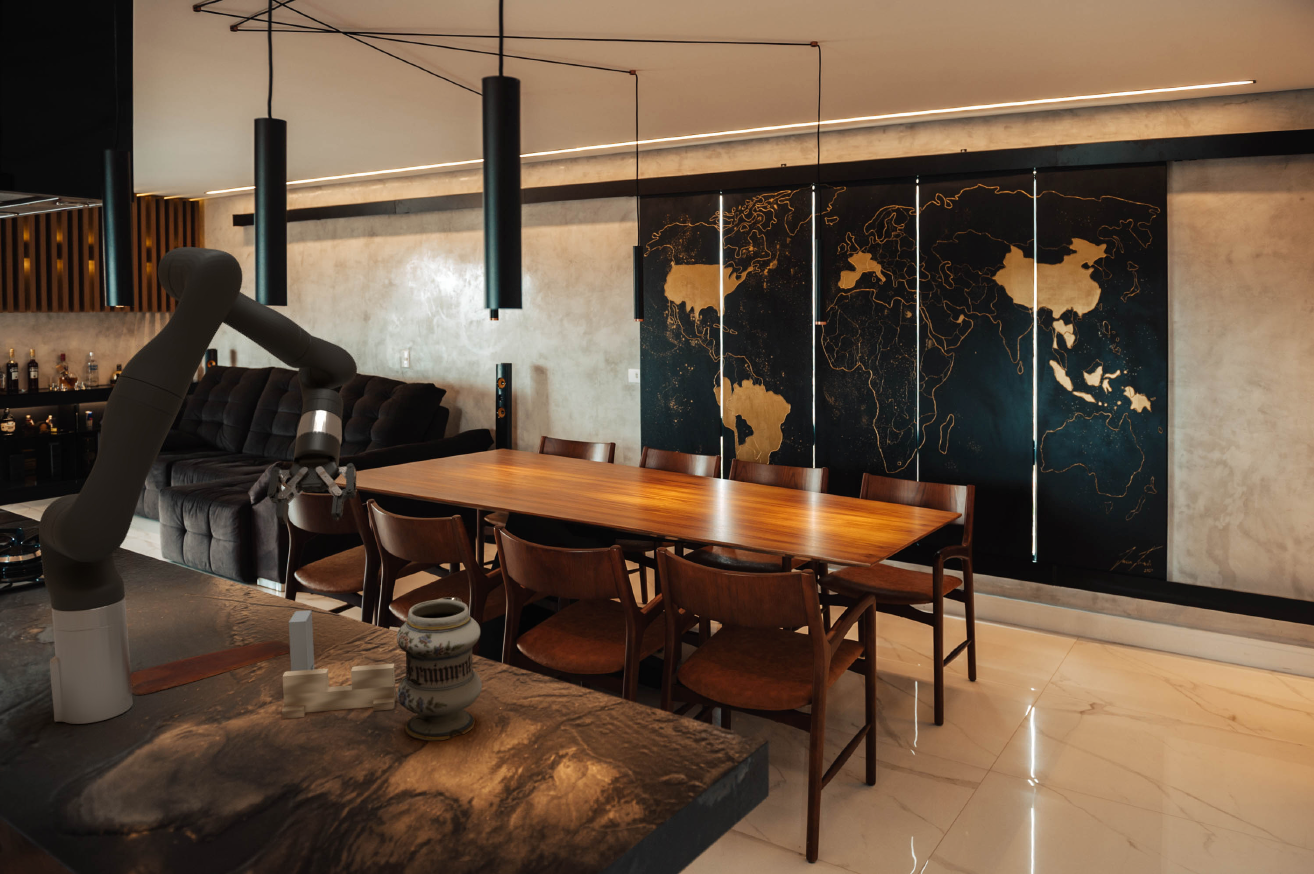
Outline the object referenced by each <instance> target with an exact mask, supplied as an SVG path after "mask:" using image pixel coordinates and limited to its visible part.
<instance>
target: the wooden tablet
mask: <svg viewBox="0 0 1314 874" xmlns="http://www.w3.org/2000/svg"><path fill="white" fill-rule="evenodd" d="M288 653H290V644H288V643H284V642H282V641H278V640H269V641H263V642H256V643H252V644H247V645H243V646H238V647H233V648H229V649H225V650H219V651H215V652H210V653H205V654H201V655H196V656H192V657H187V658H184V659H183V658H182V659H179V660H175V661H170V662H167V663H163V664H160V665H156V666H151V667H147V668H144V669H140V670H138V671H134V672H131V685H133V686H132V695H134V694H135V696H137V695H141V696H145V695H148V693H149V694H153V693H157V692H161V691H165V690H168V688H169V689H172V688H175V686H176V687H180V686H183V684H184V685H187V684H190V682H191V683H194V682H196V681H197V682H198V681H200V680H204V679H207V678H210V677H211V678H212V677H215V676H217V675H221V674H224V673H227V672H231V671H234V670H237V669H241V668H244V667H247V666H252V665H253V664H254V665H255V664H258V663H260V662H261V663H262V662H264V661H267V660H270V659H273V658H276V657H279V656H283V655H285V654H288ZM214 675H215V676H214ZM164 689H165V690H164ZM160 690H161V691H160ZM156 691H157V692H156ZM144 694H145V695H144Z"/></svg>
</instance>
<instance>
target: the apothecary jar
mask: <svg viewBox="0 0 1314 874" xmlns="http://www.w3.org/2000/svg"><path fill="white" fill-rule="evenodd" d="M469 611H470V610H469V606H468V605H467V604H466V603H465V602H460V601H456V600H449V599H442V600H437V599H433V600H426V601H423V602H419V603H417V604H414V605H413V606H412V607H410V608H409V610H408V613H407V619H406V622H404V623H403V624H402V625H401V626H400V628H399V629H398V631H397V632H396V633H397V634H396V642H397V644H398V647H399V648H400V649H401V650H402V651H403V652H404V653H405V667H406V668H405V675H404V677H403V678H402V679H401V681H400V682H399V684H398V686H397V689H396V697H397V700H398V702H399V704H400V705H401V706H402V707H403V708H404V709H406V710H407V711H409V712H412V713H413V714H416V715H414V716H412V718H411V719H409V720H408V722H407V723H406V725H405V731H406V733H407V734H408V735H409V736H411V738H414V739H418V740H422V741H427V742H429V741H433V742H435V741H437V742H438V741H446V740H449V739H452V738H454V737H456V736H459V735H460V736H461V735H464V734H467V733H468V732H469V731H471V730H472V729H473V728H474V725H475V717H474V716H473V715H472V714H471V713H470V712H468V711H466V710H465V709H467V708H469V707H470V706H471V705H472V704H473V703H475V701H477V699H479V696H480V695H481V692H482V687H483V684H482V679H481V677H480V676H479V674H478V673H477V672H476V671H475V670H474V665H473V647H474V645H476V644H477V643H478V642H479V639H480V636H481V627H480V625H479V623H478V622H477V621H476V620H475V619H474V618H473V617H471V616H470V612H469Z"/></svg>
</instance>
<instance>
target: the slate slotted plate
mask: <svg viewBox="0 0 1314 874" xmlns="http://www.w3.org/2000/svg"><path fill="white" fill-rule="evenodd" d="M291 616H292V617H291V618H290V619H289V620H288V632H289V635H288V636H289V637H288V638H289V645H290V652H289V654H290V655H289V656H290V671H301V670H315V657H314V654H315V653H314V632H313V612H312V610H295V612H294V614H293V615H291Z"/></svg>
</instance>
